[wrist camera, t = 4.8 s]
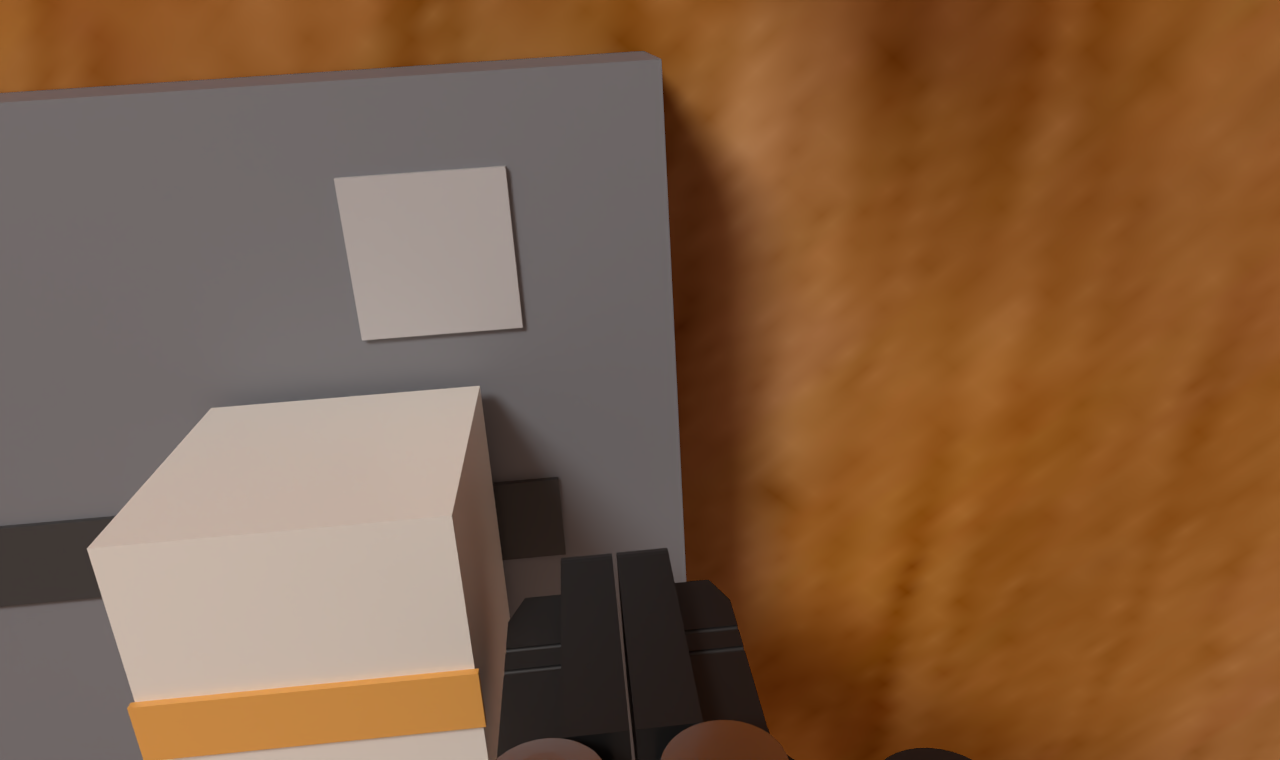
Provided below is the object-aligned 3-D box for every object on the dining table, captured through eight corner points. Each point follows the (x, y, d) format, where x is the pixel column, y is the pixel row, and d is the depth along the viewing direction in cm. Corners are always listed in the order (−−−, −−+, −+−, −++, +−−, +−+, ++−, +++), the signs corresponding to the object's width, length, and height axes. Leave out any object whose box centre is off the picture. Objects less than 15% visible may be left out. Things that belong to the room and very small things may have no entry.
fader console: (644, 50, 16) (662, 59, 13) (679, 716, 21) (698, 828, 18) (-690, 138, 15) (-990, 168, 12) (-311, 817, 20) (-458, 953, 17)
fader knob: (482, 385, 14) (455, 520, 11) (518, 656, 16) (505, 855, 12) (207, 408, 14) (77, 554, 10) (274, 680, 16) (184, 889, 12)
